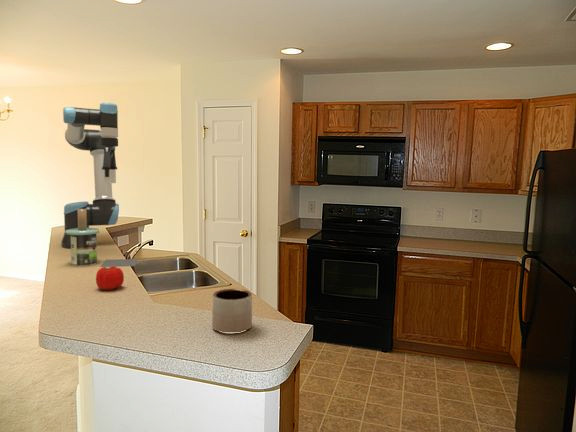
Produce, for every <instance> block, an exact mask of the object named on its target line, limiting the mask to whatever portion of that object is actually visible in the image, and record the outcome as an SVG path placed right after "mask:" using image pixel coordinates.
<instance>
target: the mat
mask: <svg viewBox="0 0 576 432" xmlns="http://www.w3.org/2000/svg"><path fill="white" fill-rule="evenodd" d="M138 261H139V258H127V259H126V258H124V259H123V258H122V259H121V258H119V259H116V258H115V259H105V260H104V261H103V263H102V264H100V266H99V267H100V268H103V267H106V268H110V267H114V266H115V267H117V268H119V267H135V266H136V265H137V263H138Z"/></svg>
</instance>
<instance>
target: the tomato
mask: <svg viewBox="0 0 576 432" xmlns="http://www.w3.org/2000/svg"><path fill="white" fill-rule="evenodd" d="M124 279H125V276H124V271H123V269H122V268H120V267H115V266H114V267H100V268H99V269H98V270H97V272H96V274H95V282H96V285H97V287H98V289H100V290H103V291H105V290H106V291H111V290H114V289H118V288H120V287H121V286H122V285H123V283H124Z"/></svg>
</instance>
